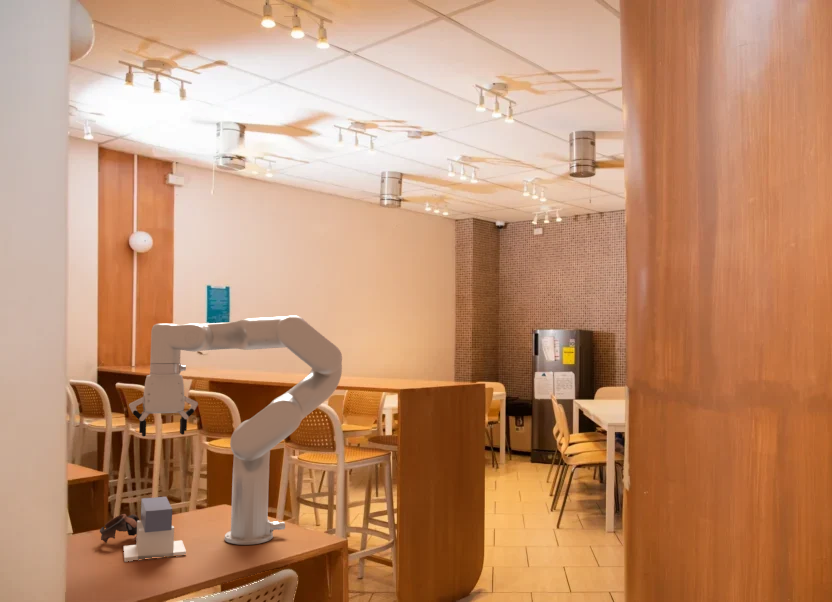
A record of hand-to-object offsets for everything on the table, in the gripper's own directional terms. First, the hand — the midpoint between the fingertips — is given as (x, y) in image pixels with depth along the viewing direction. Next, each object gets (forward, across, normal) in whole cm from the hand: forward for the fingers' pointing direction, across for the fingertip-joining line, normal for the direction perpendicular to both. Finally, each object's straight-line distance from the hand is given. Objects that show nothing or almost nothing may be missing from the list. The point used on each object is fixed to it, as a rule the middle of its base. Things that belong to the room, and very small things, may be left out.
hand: (163, 434), depth 185 cm
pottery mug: (+28, +8, -2) cm, 29 cm away
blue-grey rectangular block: (+21, +2, +10) cm, 23 cm away
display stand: (+28, +2, +10) cm, 29 cm away
